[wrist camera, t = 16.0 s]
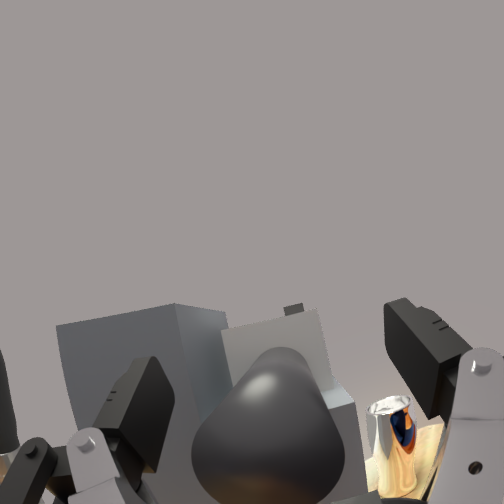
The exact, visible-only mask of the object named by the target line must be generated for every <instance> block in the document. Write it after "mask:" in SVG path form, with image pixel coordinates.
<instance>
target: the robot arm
mask: <svg viewBox="0 0 504 504" xmlns="http://www.w3.org/2000/svg"><path fill="white" fill-rule="evenodd" d="M384 332H385V346H386V350H387V353H388V356H389V357H390V359H391V361H392V362H393V364H394V365H395V367H396V368H397V370H398V372H399V373H400V375H401V376H402V378H403V379H404V381H405V383H406V384H407V386H408V387H409V389H410V390H411V392H412V394H413V395H414V397H415V399H416V400H417V402H418V404H419V405H420V407H421V408H422V410H423V412H424V413H425V415H426V417H427V418H428V420H430V419H432V418H434V417H436V416H439V415H440V416H441V418H442V419H443V421H444V422H445V423H444V426H443V430H442V434H441V438H440V442H439V446H438V449H437V453H436V456H435V459H434V463H433V466H432V469H431V472H430V475H429V477H428V480H427V482H426V485H425V487H424V490H423V492H422V495H421V497H420V500H418V499H411V498H383V499H380V495H379V492H378V490H375V491H372V492H369V493H365V494H362V495H359V496H355V497H352V498H348V499H344V500H341V501H337V502H333V503H331V504H502V500H503V496H504V356H503V357H502V356H501V355H500V353H498V352H497V351H495V350H493V349H490V348H475V349H473V348H472V347H471V346H470V345H469V344H468V343H467V342H466V341H465V340H464V339H462V337H460V336H459V335H458V334H457V333H456V332H455V331H454V330H453V329H452V328H451V327H449V325H448V324H447V323H446V322H445V321H442V319H441V318H440V317H439V316H438V315H437V314H436V313H435V312H434V311H432V310H429V309H426V308H424V307H422V306H421V307H419V308H416V307H415V306H414V305H413V304H412V303H411V302H410V301H409V300H408V299H407V298H401V299H398V300H395V301H392V302H389V303H386V304H385V305H384ZM110 392H111V393H109V395H108V397H107V399H106V401H105V402H104V404H103V406H102V408H101V410H100V412H99V414H98V416H97V418H96V420H95V421H94V423H93V425H92V427H90V428H84V429H82V430H80V431H78V432H76V433H75V434H74V435H73V436H72V437H71V438H70V439H69V441H68V443H67V446H61V447H55V448H52V447H51V446H50V445H49V444H48V443H47V442H46V441H45V440H44V439H43V438H40V437H36V438H32V439H30V440H28V441H27V442H25V443H24V444H23V445H22V446H20V444H19V440H18V437H17V428H16V427H17V426H16V419H15V414H14V410H13V405H12V401H11V395H10V390H9V384H8V377H7V372H6V367H5V362H4V359H3V356H2V353H1V350H0V504H45V503H44V501H43V499H42V494H43V492H44V489H45V488H46V489H47V490H49V491H50V492H51V493H52V494H53V495H55V496H56V497H55V499H54V502H53V504H159V503H158V501H157V500H156V498H155V496H154V495H153V493H152V491H151V490H150V488H149V486H148V485H147V483H146V482H145V480H144V479H143V478H142V473H156V471H157V468H158V464H159V460H160V456H161V452H162V448H163V445H164V441H165V437H166V433H167V430H168V426H169V422H170V419H171V415H172V412H173V408H174V404H175V395H174V391H173V388H172V386H171V384H170V382H169V380H168V378H167V376H166V374H165V372H164V370H163V368H162V366H161V364H160V362H159V360H158V359H157V358H156V357H155V356H149V357H142V358H135V359H134V360H133V361H132V363H131V365H130V367H129V369H128V371H127V373H124V374H123V375H122V376H121V377H120V378H119V379H118V380H117V381H116V382H115V384H114V386H113V387H112V389H111V391H110Z"/></svg>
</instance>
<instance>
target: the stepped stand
mask: <svg viewBox="0 0 504 504" xmlns="http://www.w3.org/2000/svg"><path fill="white" fill-rule="evenodd" d="M224 329H229V328H228V323H227V319H226V314H225V312H222V311H216V310H210V309H204V308H198V307H192V306H186V305H181V304H175V303H174V304H169V305H164V306H159V307H154V308H149V309H144V310H139V311H134V312H129V313H124V314H118V315H113V316H108V317H103V318H97V319H91V320H86V321H80V322H74V323H69V324H63V325H58V326H56V331H57V337H58V345H59V351H60V357H61V362H62V367H63V372H64V377H65V382H66V387H67V391H68V395H69V399H70V403H71V407H72V411H73V414H74V418H75V421H76V425H77V428H78V431H80V430H82V429H84V428H90V427H92V425H93V423H94V421H95V420H96V418H97V416H98V414H99V412H100V410H101V408H102V406H103V404H104V402H105V401H106V399H107V397H108V395H109V393H111V392H110V391H111V389H112V387H113V386H114V384H115V382H116V381H117V380H118V379H119V378H120V377H121V376H122V375H123V374H124V373H127V371H128V369H129V367H130V365H131V363H132V361H133V360H134V359H135V358H142V357H149V356H155V357H156V358H157V359H158V360H159V362H160V364H161V366H162V368H163V370H164V372H165V374H166V376H167V378H168V380H169V382H170V384H171V386H172V388H173V391H174V395H175V404H174V408H173V412H172V415H171V419H170V422H169V426H168V430H167V433H166V437H165V441H164V445H163V448H162V452H161V456H160V460H159V464H158V468H157V471H156V473H142V478H143V479H144V480H145V482H146V483H147V485H148V486H149V488H150V490H151V491H152V493H153V495H154V496H155V498H156V500H157V501H158V503H159V504H220V503H219V502H217V501H216V500H215V499H214V498H212V497H211V496H210V495H209V494H208V493H207V492H206V491H205V490H204V488H203V487H202V486H201V484H200V483H199V481H198V479H197V477H196V475H195V473H194V470H193V466H192V461H191V448H192V443H193V439H194V437H195V435H196V432H197V431H198V429H199V427H200V426H201V424H202V423H203V422H204V421H205V420H206V418H207V417H208V416H209V415H210V414H211V413H212V412H213V411H214V409H215V408H216V407H217V406H218V405H219V404H220V403H221V401H222V400H223V399H224V398H225V397H226V396H227V394H228V393H229V392H230V391H231V390H232V389H233V384H232V379H231V375H230V371H229V366H228V362H227V357H226V353H225V348H224V344H223V339H222V335H221V330H224ZM332 377H333V375H332ZM333 382H334V387H335V388H334V389H331V390H327V391H323V392H321V394H322V397H323V399H324V401H325V403H326V405H327V407H328V410H329V412H330V414H331V416H332V418H333V420H334V423H335V425H336V427H337V429H338V431H339V434H340V436H341V438H342V441H343V444H344V449H345V464H344V468H343V472H342V474H341V477H340V479H339V481H338V482H337V484H336V486H335V487H334V488H333V490H332V491H331V492H330V493H329V494H328V495H327V496H326V497H325V498H324V499H323V500H321V501H320V502H318V503H317V504H331V503H333V502H337V501H341V500H344V499H348V498H352V497H355V496H359V495H362V494H365V493H368V486H367V478H366V470H365V462H364V456H363V449H362V442H361V435H360V429H359V422H358V417H357V411H356V405H355V401H354V400H353V399H352V398H351V397H350V395H349V394H348V393H347V392H346V391H345V390H344V388H343V387H342V386H341V385H340V384H339V383H338V381H337V380H336V379H335V378H334V377H333Z"/></svg>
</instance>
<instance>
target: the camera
mask: <svg viewBox="0 0 504 504" xmlns="http://www.w3.org/2000/svg"><path fill="white" fill-rule="evenodd" d="M284 311H285V316H284V317H280V318H276V319H271V320H267V321H262V322H258V323H253V324H249V325H244V326H239V327H234V328H229V329H224V330H221V335H222V339H223V344H224V348H225V353H226V357H227V362H228V366H229V371H230V375H231V379H232V384H233V389H232V390H231V391H230V392H229V393H228V394H227V396H226V397H225V398H224V399H223V400H222V401H221V403H220V404H219V405H218V406H217V407H216V408H215V409H214V411H213V412H212V413H211V414H210V415H209V416H208V417H207V418H206V420H205V421H204V422H203V423H202V424H201V426H200V427H199V429H198V431H197V432H196V435H195V437H194V439H193V443H192V448H191V461H192V466H193V470H194V473H195V475H196V477H197V479H198V481H199V483H200V484H201V486H202V487H203V488H204V490H205V491H206V492H207V493H208V494H209V495H210V496H211V497H212V498H214V499H215V500H216V501H217V502H219V503H220V504H317V503H318V502H320V501H321V500H323V499H324V498H325V497H326V496H327V495H328V494H329V493H330V492H331V491H332V490H333V488H334V487H335V486H336V484H337V482H338V481H339V479H340V477H341V474H342V472H343V468H344V464H345V449H344V444H343V441H342V438H341V436H340V434H339V431H338V429H337V427H336V425H335V423H334V420H333V418H332V416H331V414H330V412H329V410H328V407H327V405H326V403H325V401H324V399H323V397H322V394H321V392H323V391H327V390H331V389H334V388H335V387H334V382H333V377H332V373H331V368H330V363H329V359H328V354H327V349H326V345H325V340H324V336H323V331H322V327H321V323H320V318H319V314H318V310H317V308H316V309H312V310H308V311H304V308H303V304H302V303H300V304H296V305H291V306H288V307H284Z"/></svg>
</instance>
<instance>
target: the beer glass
mask: <svg viewBox="0 0 504 504" xmlns="http://www.w3.org/2000/svg"><path fill="white" fill-rule="evenodd" d="M365 411H366V422H367V433H368V439H369V445H370V448H371V452H372V455H373V457H374V460H375V463H376V466H377V469H378V473H379V482H378V489H377V490H378V492H379V495H380V496H382V497H384V498H398V497H401V496H404V495H406V494H408V493H410V492H411V491H412V490H414V488H415V487H416V485H417V478H416V474H415V470H414V459H415V452H416V444H417V421H416V415H415V409H414V406H413V399H412V397H411V396H409V395H395V396H390V397H386V398H383V399H380V400H378V401H375V402H373V403H372V404H370V405H369V406H368V407H367V408H366V410H365Z"/></svg>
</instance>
